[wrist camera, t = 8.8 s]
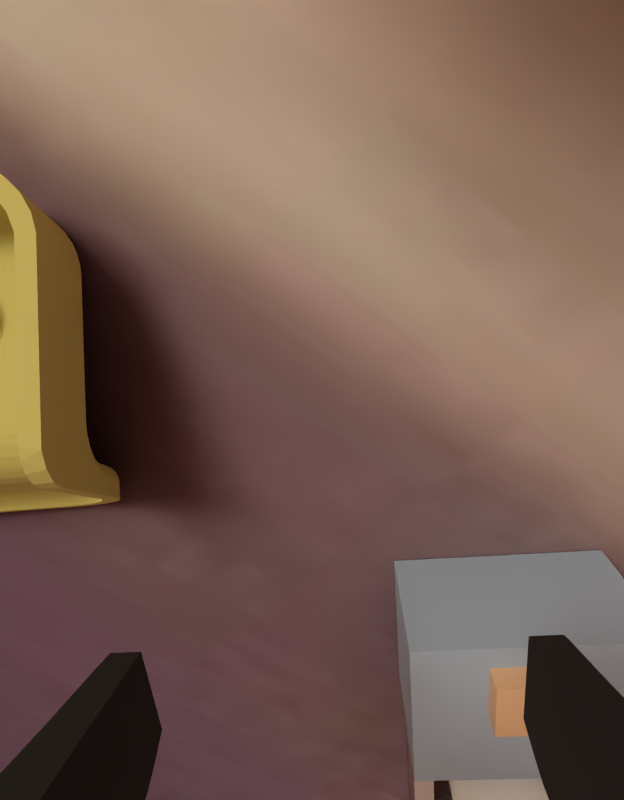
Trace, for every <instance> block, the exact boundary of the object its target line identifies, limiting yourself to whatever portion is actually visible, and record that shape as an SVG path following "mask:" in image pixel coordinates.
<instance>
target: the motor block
mask: <svg viewBox="0 0 624 800" xmlns="http://www.w3.org/2000/svg"><path fill="white" fill-rule="evenodd" d="M394 572H395V593H396V614H397V635H398V656H399V675H400V682H401V689H402V696H403V703H404V710H405V717H406V725H407V732H408V739H409V746H410V753H411V760H412V767H413V774H414V781H445V780H491V779H537V778H541V776H540V773H539V770H538V767H537V763H536V760H535V757H534V753H533V750H532V747H531V743H530V740H529V736H528V733H527V729H526V726H525V722H524V719H523V717H524V702H525V686H526V671H527V655H528V640H529V636H543V635H565V636H566V637H567V638H568V639H569V640H570V641H571V642H572V643H573V644H574V645H575V646H576V647H577V648H578V649H579V651H580V652H581V653H582V654H583V655H584V656H585V657H586V658H587V659H588V660H589V661H590V662H591V663H592V665H593V666H594V667H595V668H596V669H597V670H598V671H599V672H600V673H601V674H602V675H603V676H604V677H605V678H606V679H607V680H608V682H609V683H610V684H611V685H612V686H613V687H614V688H615V689H616V690H617V691H618V692H619V693H620V694H621V695H622V696H623V697H624V578H623V577H622V576H621V574H620V573H619V572H618V571H617V569H616V568H615V567H614V566H613V564H612V563H611V562H610V561H609V559H608V558H607V557H606V555H605V554H604V553H603V552H602V550H596V551H577V552H558V553H538V554H519V555H500V556H481V557H461V558H442V559H423V560H404V561H394Z"/></svg>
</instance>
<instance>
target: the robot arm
mask: <svg viewBox="0 0 624 800" xmlns="http://www.w3.org/2000/svg"><path fill="white" fill-rule="evenodd" d="M523 719H524V722H525V726H526V729H527V733H528V736H529V740H530V743H531V747H532V750H533V753H534V757H535V760H536V763H537V767H538V770H539V773H540V776H541V780H542V783H543V786H544V788H545V791H546V793H547V796H548V798H549V800H624V697H623V696H622V695H621V694H620V693H619V692H618V691H617V690H616V689H615V688H614V687H613V686H612V685H611V684H610V683H609V682H608V680H607V679H606V678H605V677H604V676H603V675H602V674H601V673H600V672H599V671H598V670H597V669H596V668H595V667H594V666H593V665H592V663H591V662H590V661H589V660H588V659H587V658H586V657H585V656H584V655H583V654H582V653H581V652H580V651H579V649H578V648H577V647H576V646H575V645H574V644H573V643H572V642H571V641H570V640H569V639H568V638H567V637H566V636H565V635H543V636H529V640H528V655H527V671H526V686H525V702H524V717H523ZM161 731H162V728H161V724H160V720H159V717H158V713H157V709H156V706H155V702H154V698H153V695H152V691H151V687H150V684H149V680H148V676H147V672H146V669H145V665H144V661H143V658H142V654H141V652H129V653H110V654H109V655H108V656H107V657H106V658H105V659H104V661H103V662H102V663H101V664H100V665H99V666H98V667H97V668H96V669H95V670H94V671H93V672H92V674H91V675H90V676H89V677H88V678H87V679H86V680H85V681H84V682H83V684H82V685H81V686H80V687H79V688H78V689H77V690H76V691H75V692H74V694H73V695H72V696H71V697H70V698H69V699H68V700H67V701H66V703H65V704H64V705H63V706H62V707H61V708H60V709H59V710H58V711H57V713H56V714H55V715H54V716H53V717H52V718H51V719H50V720H49V721H48V723H47V724H46V725H45V726H44V727H43V728H42V729H41V730H40V731H39V732H38V733H37V735H36V736H35V737H34V738H33V739H32V740H31V741H30V742H29V743H28V744H27V745H26V746H25V747H24V749H23V750H22V751H21V752H20V753H19V754H18V755H17V756H16V757H15V758H14V759H13V760H12V762H11V763H10V764H9V765H8V766H7V767H6V768H5V769H4V770H3V771H2V772H1V773H0V800H145V798H146V795H147V792H148V788H149V784H150V780H151V776H152V772H153V768H154V763H155V759H156V754H157V750H158V745H159V741H160V736H161Z"/></svg>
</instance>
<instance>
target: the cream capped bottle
mask: <svg viewBox="0 0 624 800" xmlns="http://www.w3.org/2000/svg"><path fill="white" fill-rule="evenodd" d="M449 784H450V789H451V794H452V799H453V800H549V798H548V796H547V793H546V791H545V788H544V786H543V783H542V780H541V778H537V779H491V780H449Z"/></svg>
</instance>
